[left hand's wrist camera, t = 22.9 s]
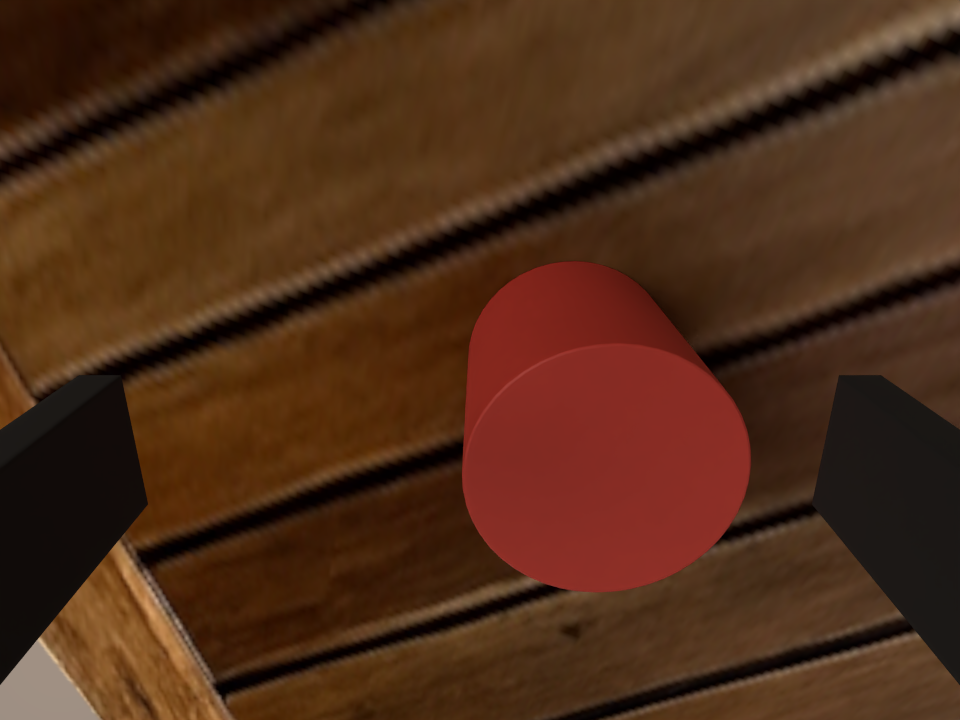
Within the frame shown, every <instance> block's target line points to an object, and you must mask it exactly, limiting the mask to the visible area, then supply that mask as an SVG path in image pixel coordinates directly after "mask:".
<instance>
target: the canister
mask: <svg viewBox="0 0 960 720" xmlns="http://www.w3.org/2000/svg"><path fill="white" fill-rule="evenodd" d="M750 468H751V449H750V442H749V437H748V431H747V428H746V426H745V423H744V420H743V417H742V415H741V413H740V411H739V409H738V407H737V406H736V404H735V402H734V400H733V399H732V398H731V396H730V395H729V394H728V392H727V391H726V390H725V389H724V387H723V386H722V385H721V383H720V382H719V381H718V380H717V378H716V377H715V376H714V375H713V374H712V372H711V371H710V370H709V369H708V367H707V366H706V365H705V364H704V362H703V361H702V360H701V359H700V357H699V356H698V355H697V354H696V352H695V351H694V350H693V349H692V347H691V346H690V345H689V344H688V343H687V341H686V340H685V339H684V338H683V336H682V335H681V334H680V333H679V331H678V330H677V329H676V328H675V326H674V325H673V324H672V323H671V321H670V320H669V319H668V318H667V316H666V315H665V314H664V313H663V312H662V310H661V309H660V308H659V307H658V305H657V304H656V303H655V302H654V300H653V299H652V298H651V297H650V295H649V294H648V293H647V292H646V291H645V290H644V289H643V288H642V287H641V286H640V285H639V284H638V283H636V282H635V281H633V280H632V279H631V278H629V277H628V276H626V275H624V274H622V273H621V272H619V271H617V270H614V269H612V268H609V267H606V266H603V265H599V264H595V263H590V262H579V261H570V262H558V263H552V264H547V265H544V266H541V267H537V268H534V269H532V270H530V271H528V272H526V273H523V274H521V275H520V276H518V277H517V278H515V279H513V280H512V281H510V282H509V283H508V284H506V285H505V286H504V287H503V288H501V289H500V290H499V291H498V292H497V293H496V294H495V295H494V296H493V297H492V299H491V300H490V301H489V302H488V304H487V305H486V306H485V308H484V309H483V311H482V312H481V314H480V316H479V318H478V320H477V322H476V324H475V327H474V330H473V332H472V336H471V340H470V345H469V356H468V373H467V392H466V410H465V429H464V448H463V466H462V481H463V492H464V497H465V501H466V506H467V508H468V511H469V514H470V516H471V519H472V521H473V523H474V525H475V526H476V528H477V530H478V532H479V533H480V535H481V536H482V538H483V539H484V540H485V541H486V543H487V544H488V545H489V547H490V548H491V549H492V550H493V551H494V552H495V553H496V554H497V555H498V556H499V557H500V558H501V559H503V560H504V561H505V562H506V563H508V564H509V565H510V566H512V567H513V568H514V569H516V570H518V571H520V572H521V573H523V574H525V575H527V576H528V577H530V578H533V579H535V580H537V581H540V582H542V583H545V584H548V585H551V586H555V587H558V588H563V589H568V590H574V591H583V592H613V591H620V590H628V589H632V588H636V587H640V586H645V585H648V584H651V583H653V582H656V581H659V580H662V579H664V578H666V577H668V576H670V575H672V574H674V573H677V572H679V571H680V570H682V569H683V568H685V567H687V566H688V565H690V564H691V563H693V562H694V561H696V560H697V559H698V558H699V557H701V556H702V555H703V554H704V553H706V552H707V551H708V550H709V549H710V548H711V547H712V546H713V545H714V544H715V543H716V542H717V541H718V540H719V539H720V538H721V536H722V535H723V534H724V533H725V531H726V530H727V529H728V527H729V526H730V524H731V523H732V521H733V519H734V518H735V516H736V514H737V513H738V511H739V508H740V506H741V504H742V502H743V499H744V497H745V493H746V490H747V486H748V482H749V476H750Z"/></svg>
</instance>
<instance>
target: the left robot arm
mask: <svg viewBox="0 0 960 720" xmlns="http://www.w3.org/2000/svg"><path fill="white" fill-rule="evenodd" d="M147 505H148V502H147V497H146V492H145V488H144V483H143V478H142V473H141V469H140V464H139V459H138V454H137V450H136V445H135V440H134V435H133V431H132V426H131V421H130V416H129V412H128V407H127V402H126V397H125V393H124V388H123V383H122V378H121V375H79V376H77V377H76V378H75V379H73V380H72V381H70V382H69V383H67V384H66V385H64V386H63V387H61V388H60V389H59V390H57V391H56V392H54V393H53V394H51V395H50V396H48V397H47V398H46V399H44V400H43V401H41V402H40V403H38V404H37V405H35V406H34V407H33V408H31V409H30V410H28V411H27V412H25V413H24V414H22V415H21V416H20V417H18V418H17V419H15V420H14V421H12V422H11V423H9V424H8V425H6V426H5V427H4V428H2V429H1V430H0V684H1V683H2V682H3V681H4V680H5V678H6V677H7V676H8V675H9V673H10V672H11V671H12V670H13V669H14V667H15V666H16V665H17V664H18V662H19V661H20V660H21V659H22V658H23V656H24V655H25V654H26V653H27V651H28V650H29V649H30V648H31V647H32V645H33V644H34V643H35V642H36V640H37V639H38V638H39V637H40V636H41V634H42V633H43V632H44V631H45V629H46V628H47V627H48V626H49V625H50V623H51V622H52V621H53V620H54V618H55V617H56V616H57V615H58V614H59V612H60V611H61V610H62V609H63V607H64V606H65V605H66V604H67V603H68V601H69V600H70V599H71V598H72V596H73V595H74V594H75V593H76V592H77V590H78V589H79V588H80V587H81V585H82V584H83V583H84V582H85V581H86V579H87V578H88V577H89V576H90V574H91V573H92V572H93V571H94V570H95V568H96V567H97V566H98V565H99V563H100V562H101V561H102V560H103V559H104V557H105V556H106V555H107V554H108V552H109V551H110V550H111V549H112V548H113V546H114V545H115V544H116V543H117V541H118V540H119V539H120V538H121V537H122V535H123V534H124V533H125V532H126V530H127V529H128V528H129V527H130V526H131V524H132V523H133V522H134V521H135V519H136V518H137V517H138V516H139V515H140V513H141V512H142V511H143V510H144V508H145V507H146V506H147ZM812 505H813V506H814V507H815V508H816V510H817V511H818V512H819V513H820V515H821V516H822V517H823V518H824V519H825V521H826V522H827V523H828V524H829V526H830V527H831V528H832V529H833V530H834V532H835V533H836V534H837V535H838V537H839V538H840V539H841V540H842V541H843V543H844V544H845V545H846V546H847V548H848V549H849V550H850V551H851V552H852V554H853V555H854V556H855V557H856V559H857V560H858V561H859V562H860V563H861V565H862V566H863V567H864V568H865V570H866V571H867V572H868V573H869V574H870V576H871V577H872V578H873V579H874V581H875V582H876V583H877V584H878V585H879V587H880V588H881V589H882V590H883V592H884V593H885V594H886V595H887V596H888V598H889V599H890V600H891V601H892V603H893V604H894V605H895V606H896V607H897V609H898V610H899V611H900V612H901V614H902V615H903V616H904V617H905V618H906V620H907V621H908V622H909V623H910V625H911V626H912V627H913V628H914V629H915V631H916V632H917V633H918V634H919V636H920V637H921V638H922V639H923V640H924V642H925V643H926V644H927V645H928V647H929V648H930V649H931V650H932V651H933V653H934V654H935V655H936V656H937V658H938V659H939V660H940V661H941V662H942V664H943V665H944V666H945V667H946V669H947V670H948V671H949V672H950V673H951V675H952V676H953V677H954V678H955V680H956V681H957V682H958V683H959V685H960V430H959V429H958V428H956V427H955V426H954V425H952V424H951V423H949V422H948V421H946V420H945V419H943V418H942V417H940V416H939V415H938V414H936V413H935V412H933V411H932V410H930V409H929V408H927V407H926V406H925V405H923V404H922V403H920V402H919V401H917V400H916V399H914V398H913V397H912V396H910V395H909V394H907V393H906V392H904V391H903V390H901V389H900V388H899V387H897V386H896V385H894V384H893V383H891V382H890V381H888V380H887V379H885V378H884V377H883V376H881V375H839V378H838V383H837V388H836V393H835V397H834V402H833V407H832V412H831V416H830V421H829V426H828V431H827V435H826V440H825V445H824V450H823V454H822V459H821V464H820V469H819V473H818V478H817V483H816V488H815V492H814V497H813V502H812Z"/></svg>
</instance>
